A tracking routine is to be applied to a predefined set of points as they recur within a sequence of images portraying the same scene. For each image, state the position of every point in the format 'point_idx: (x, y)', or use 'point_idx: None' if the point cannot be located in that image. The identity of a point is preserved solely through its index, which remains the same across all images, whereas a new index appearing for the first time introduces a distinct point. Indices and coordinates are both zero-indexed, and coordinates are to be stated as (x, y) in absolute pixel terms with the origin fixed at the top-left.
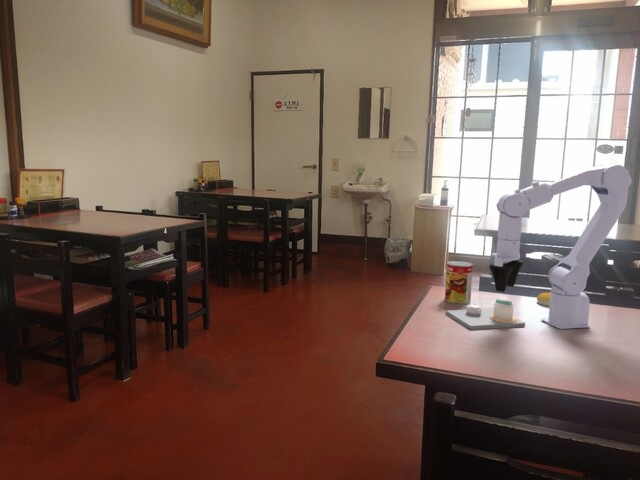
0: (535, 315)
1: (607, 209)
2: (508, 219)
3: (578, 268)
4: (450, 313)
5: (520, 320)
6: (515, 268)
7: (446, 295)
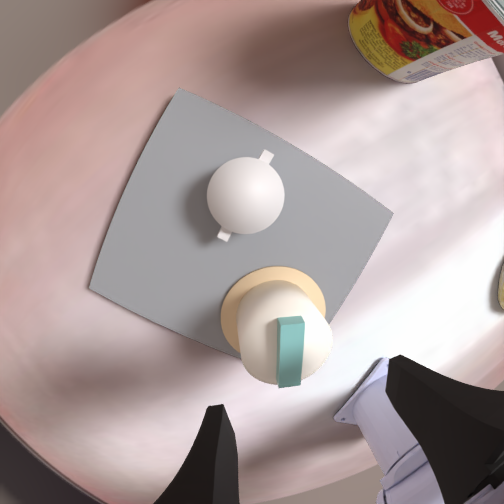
0: (422, 317)
1: None
2: None
3: None
4: (155, 128)
5: None
6: (443, 468)
7: (360, 1)
